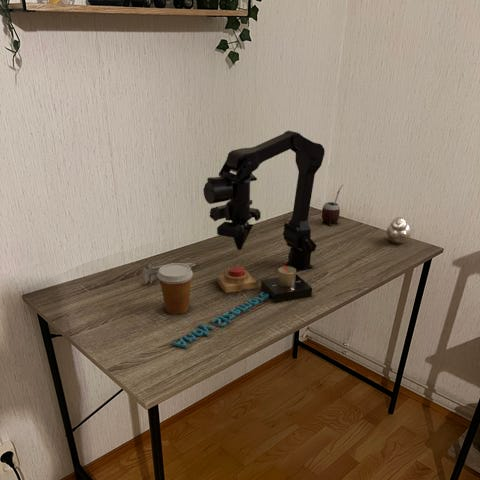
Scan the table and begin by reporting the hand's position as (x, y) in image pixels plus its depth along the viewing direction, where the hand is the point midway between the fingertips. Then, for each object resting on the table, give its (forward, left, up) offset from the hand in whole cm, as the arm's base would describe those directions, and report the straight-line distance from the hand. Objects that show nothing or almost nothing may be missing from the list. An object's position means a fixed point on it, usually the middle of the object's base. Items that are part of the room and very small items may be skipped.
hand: (239, 249), depth 147 cm
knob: (-11, +11, -8) cm, 17 cm away
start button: (+1, +1, -8) cm, 8 cm away
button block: (+1, +1, -11) cm, 11 cm away
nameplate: (+12, +19, -11) cm, 25 cm away
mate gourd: (-56, -39, -12) cm, 69 cm away
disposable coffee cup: (+22, +9, -12) cm, 26 cm away
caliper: (+18, -13, -12) cm, 25 cm away
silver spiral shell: (-68, -11, -12) cm, 70 cm away
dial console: (-11, +11, -11) cm, 19 cm away
